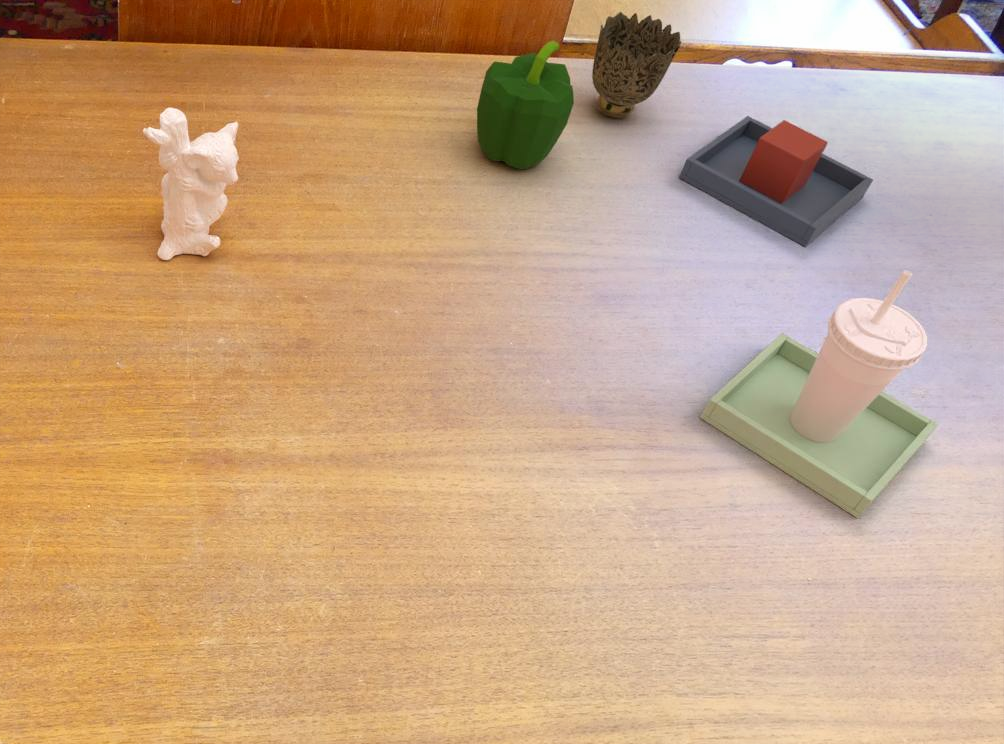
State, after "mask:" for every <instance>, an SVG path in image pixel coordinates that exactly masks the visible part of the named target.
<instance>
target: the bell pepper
mask: <svg viewBox="0 0 1004 744" xmlns="http://www.w3.org/2000/svg"><path fill="white" fill-rule="evenodd" d="M559 48H560V44H559V42H557V41H556V40H550V41H548V42H547V43H545V44H544V45H543V46H542V47H541V49H540V50H539V52H538V53H535V52H534V51H533V52H530V53H525V54H522V55H518V56H515V57H514V59H513V60H512V62H511V63H509V62H502V61H495V60H494V61H493V62H492V63H491V64H490V66H489V67H488V68H487V70H486V71H485V74H484V78H483V82H482V85H481V89H480V94H479V97H478V103H477V107H476V132H477V142H478V144H479V146H480V148H481V150H482V152H483V154H484V155H485V157H486V158H488V159H490V160H492V161H494V162H501V161H503V162H504V163H505V164H506V165H507V166H510V167H512V168H515V169H517V170H527V169H532V168H534V167H535V166H537V165H538V164H540V163H541V162H543V160H545V159H546V158H547V157H548V156H549V154H550V153H551V152H552V150H553V148H554V147H555V145H556V143H557V142H558V141H559V139H560V137H561V135H562V133H563V131H564V130H565V128H566V126H567V125H568V121H569V119H570V116H571V113H572V110H573V107H574V104H575V101H574V100H575V97H574V87H573V85H572V84H571V77H570V74H569V71H568V69H567V66H566V64H564V63H557V62H556V63H555V62H548V59H549V58H550V57H551V55H552V54H554V53H556V52H557V51H558V50H559Z"/></svg>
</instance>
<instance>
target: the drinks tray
mask: <svg viewBox="0 0 1004 744" xmlns="http://www.w3.org/2000/svg"><path fill="white" fill-rule="evenodd" d="M818 354H819V352H816V351H814V350H812V349H811V348H810V347H807V346H806V345H804V344H803V343H800V342H799V341H797V340H795V339H794V338H792V337H790V336H789V335H787V334H786V333H784V332H782V333H780V335H778V336H777V337H776V338H775V339H774V340H773V341H772V342H771V343H770V344H768V346H766V347H765V348H764V349H763V350H762V351H761V352H759V354H758V355H756V356H755V357H754V358H753V359H752V360H751V361H750V362H748V364H747V365H746V366H745V367H743V368H742V369H741V370H740V371H739V372H738V373H736V375H734V377H733V378H732V379H730V380H729V381H728V382H727V383H725V385H723V386H722V388H720V389H719V390H718V391H717V392H716V393H715V394H714V395H713V396H711V397H710V399H709V400H708V402H707V404H706V405H705V407H704V409H703V411H702V412H701V414H700V416H699V419H701V420H702V421H704V422H705V423H707V424H709V425H710V426H712V427H713V428H715V429H717V430H718V431H720V432H721V433H723V434H724V435H726V436H728V437H729V438H731V439H732V440H734V441H735V442H737V443H739V444H740V445H742V446H744V447H745V448H747V449H748V450H749V451H751V452H752V453H755V454H756V455H758V456H760V457H761V458H762V459H764V460H765V461H767V462H768V463H770V464H772V465H773V466H775V467H777V468H778V469H780V470H781V471H782V472H784V473H786V474H787V475H789V476H791V477H792V478H794V479H795V480H797V481H798V482H800V483H801V484H803V485H804V486H806V487H808V488H809V489H811V490H812V491H814V492H815V493H817V494H819V495H820V496H822V497H823V498H825V499H826V500H828V501H830V502H831V503H833V504H834V505H836V506H837V507H839V508H840V509H842V510H844V511H845V512H847V513H849V514H850V515H852V516H853V517H855V518H856V519H859V518H860V516H862V515H863V513H864V512H865V511H866V510H867V509H868V508H869V506H870V505H871V504H872V503H873V502H874V500H876V499H877V497H879V495H880V494H881V493H882V491H884V489H885V488H886V487H887V486H888V485H889V484H890V482H892V480H893V479H894V478H895V476H896V475H897V474H898V473H899V472H900V471H901V469H902V468H904V466H905V465H906V464H907V463H908V461H909V460H910V459H911V458H912V457H913V456H914V455H915V454H916V453H917V451H918V450H919V449H921V446H922V445H923V444H924V443H925V442H926V441H927V440H928V438H929V437H930V436H931V435H932V433H933V432H934V431H935V430H936V429H937V427H938V426H939V424H938V422H936V421H934V420H932V419H931V418H929V417H927V416H925V415H924V414H922V413H920V412H918V411H917V410H915V409H914V408H912V407H910V406H908V405H907V404H905V403H903V402H901V401H900V400H898V399H896V398H895V397H893V396H891V395H889V394H887V393H886V392H884V390H883V391H882V392H881V393H880V394H879V395H878V396H877V397H876V398H875V399H874V400H873V401H872V402H871V403H870V404H869V405H868V406H867V407H866V408H865V409H864V410H863V412H862V413H861V414H860V415H859V416H858V417H857V418H856V419H855V420H854V421H853V422H852V423H851V424H850V425H849V426H848V427H847V428H846V429H845V430H844V431H843V432H842V433H841V434H840V435H839V436H838V437H837V438H836V439H835V440H833V441H831V442H825V443H823V442H815V441H812V440H809V439H807V438H805V437H803V436H802V435H800V434H799V433H798V432H797V431H796V430H795V429H794V428H793V426H792V424H791V421H790V416H791V413H792V411H793V409H794V407H795V404H796V402H797V400H798V398H799V396H800V393H801V391H802V389H803V387H804V385H805V382H806V380H807V378H808V376H809V374H810V371H811V369H812V367H813V365H814V363H815V360H816V358H817V356H818Z"/></svg>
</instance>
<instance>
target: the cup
mask: <svg viewBox="0 0 1004 744" xmlns="http://www.w3.org/2000/svg"><path fill="white" fill-rule="evenodd" d="M672 28H673V27H672V24H667V25H666V26H664V28H663V22H662V20H661V19H660V18H657V19H653V17H652V15H651V14H650V15H647V16H646V17H645V18H643V19H641V20H640V21H639V17H638V14H637V12H635V13H633V15H631V17H630V18H629V17H628V16H627V15H626V14H624V13H623V12H622V11H619V12H617V13H616V14H615V15H614V16H613V17H612V16H610V15H609V16H607V18H606V19H605V24H604V26H603V24H601V25H600V29H599V35H598V39H597V44H596V49H595V54H594V58H593V64H592V73H591V74H592V75H591V76H592V83H593V86H594V89H595V91H596V92H597V94H598V96H597V99H596V105H597V108H598V110H599V112H600V113H602V114H603V115H605V116H607V117H609V118H612V119H623V118H626V117H629V116H630V115H631V114H632V113H633V112H634V110H635V109H636V105H638V104H641V103H643V102H645V101H646V100H648V99H649V98H650V97H652V95H654V93H655V92H656V90H657V89H658V88H659V86H660V84H661V82H662V81H663V79H664V77H665V75H666V73H667V72H668V69H669V67H670V66H671V64H672V62H673V60H674V58H675V57H676V55H677V52H678V51H679V49H680V47H681V45H682V40H681V32H680V31H676V32H672Z"/></svg>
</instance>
